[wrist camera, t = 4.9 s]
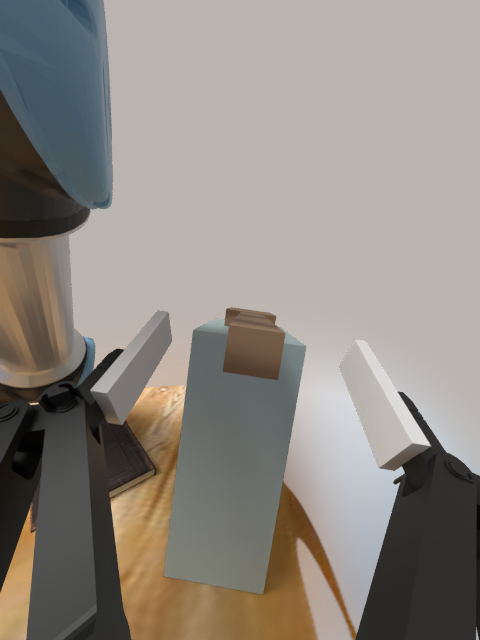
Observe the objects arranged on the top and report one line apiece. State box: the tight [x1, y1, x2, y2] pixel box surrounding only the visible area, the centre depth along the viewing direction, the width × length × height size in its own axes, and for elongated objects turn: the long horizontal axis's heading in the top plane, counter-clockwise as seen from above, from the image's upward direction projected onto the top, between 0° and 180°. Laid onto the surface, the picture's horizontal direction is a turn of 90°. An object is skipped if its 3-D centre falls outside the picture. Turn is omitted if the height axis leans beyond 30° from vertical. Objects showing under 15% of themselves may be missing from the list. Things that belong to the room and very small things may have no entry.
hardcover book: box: [31, 417, 156, 537], centre depth 39 cm, size 16×23×2 cm
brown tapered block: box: [223, 308, 286, 380], centre depth 23 cm, size 27×7×2 cm, turn 177°
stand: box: [164, 318, 306, 595], centre depth 30 cm, size 16×12×30 cm
